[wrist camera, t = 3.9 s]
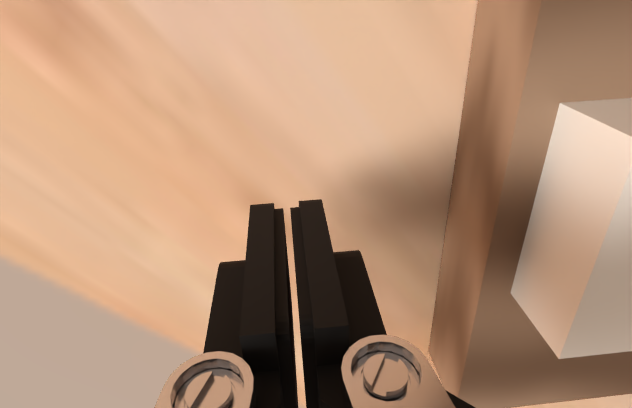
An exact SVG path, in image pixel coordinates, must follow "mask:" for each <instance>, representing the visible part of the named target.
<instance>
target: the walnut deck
mask: <svg viewBox="0 0 632 408" xmlns="http://www.w3.org/2000/svg"><path fill="white" fill-rule="evenodd" d="M623 98H632V0H478V4H477V12H476V19H475V26H474V33H473V40H472V47H471V54H470V61H469V68H468V75H467V82H466V90H465V97H464V104H463V111H462V118H461V125H460V132H459V139H458V146H457V153H456V160H455V168H454V175H453V182H452V189H451V196H450V203H449V210H448V217H447V224H446V231H445V238H444V246H443V253H442V260H441V267H440V274H439V281H438V288H437V295H436V302H435V309H434V316H433V324H432V331H431V338H430V345H429V353H430V356H431V358H432V361H433V363H434V365H435V368H436V370H437V373H438V375H439V378H440V380H441V383H442V385H443V387H444V389H445V390H446V391H448V392H450V393H451V394H453V395H455V396H456V397H458V398H460V399H462V400H463V401H465V402H467V403H468V404H470V405H472V406H474V407H475V408H512V407H520V406H529V405H537V404H546V403H555V402H563V401H572V400H580V399H589V398H597V397H606V396H615V395H623V394H632V351H628V352H619V353H610V354H601V355H592V356H582V357H573V358H564V359H558V357H557V356H556V355H555V353H554V352H553V350H552V349H551V348H550V346H549V345H548V344H547V342H546V341H545V340H544V338H543V337H542V335H541V334H540V333H539V331H538V330H537V329H536V327H535V326H534V325H533V323H532V322H531V320H530V319H529V318H528V316H527V315H526V314H525V312H524V311H523V310H522V308H521V307H520V305H519V304H518V303H517V301H516V300H515V299H514V297H513V296H512V295H511V289H512V285H513V281H514V278H515V274H516V270H517V266H518V262H519V258H520V255H521V251H522V247H523V243H524V239H525V235H526V231H527V228H528V224H529V220H530V216H531V212H532V208H533V204H534V201H535V197H536V193H537V189H538V185H539V181H540V177H541V174H542V170H543V166H544V162H545V158H546V154H547V150H548V147H549V143H550V139H551V135H552V131H553V127H554V123H555V120H556V116H557V112H558V108H559V104H560V103H565V102H580V101H594V100H608V99H623Z"/></svg>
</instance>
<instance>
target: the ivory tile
mask: <svg viewBox="0 0 632 408" xmlns="http://www.w3.org/2000/svg"><path fill="white" fill-rule="evenodd" d="M511 295H512V296H513V297H514V299H515V300H516V301H517V303H518V304H519V305H520V307H521V308H522V310H523V311H524V312H525V314H526V315H527V316H528V318H529V319H530V320H531V322H532V323H533V325H534V326H535V327H536V329H537V330H538V331H539V333H540V334H541V335H542V337H543V338H544V340H545V341H546V342H547V344H548V345H549V346H550V348H551V349H552V350H553V352H554V353H555V355H556V356H557V357H558V359H564V358H573V357H582V356H592V355H601V354H610V353H619V352H628V351H632V98H623V99H608V100H594V101H580V102H565V103H560V104H559V108H558V112H557V116H556V120H555V123H554V127H553V131H552V135H551V139H550V143H549V147H548V150H547V154H546V158H545V162H544V166H543V170H542V174H541V177H540V181H539V185H538V189H537V193H536V197H535V201H534V204H533V208H532V212H531V216H530V220H529V224H528V228H527V231H526V235H525V239H524V243H523V247H522V251H521V255H520V258H519V262H518V266H517V270H516V274H515V278H514V281H513V285H512V289H511Z"/></svg>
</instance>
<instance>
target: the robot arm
mask: <svg viewBox="0 0 632 408" xmlns="http://www.w3.org/2000/svg"><path fill="white" fill-rule="evenodd" d="M290 209H291V222H292V234H293V246H294V259H295V271H296V284H297V296H298V308H299V321H300V333H301V345H302V358H303V370H304V382H305V395H306V407H307V408H475V407H474V406H472V405H470V404H468V403H467V402H465V401H463V400H462V399H460V398H458V397H456V396H455V395H453V394H451V393H450V392H448V391H446V390H445V389H444V387H443V386H442V384H441V382H440V380H439V379H438V377H437V375H436V374H435V372H434V370H433V369H432V367H431V365H430V363H429V362H428V360H427V359H426V357H425V356H424V355H423V354H422V352H421V351H420V350H419V349H418V348H417V347H415V346H414V345H412V344H411V343H410V342H408V341H406V340H403V339H401V338H398V337H396V336H389V335H387V334H386V331H385V328H384V325H383V321H382V318H381V315H380V312H379V309H378V306H377V302H376V299H375V296H374V293H373V290H372V286H371V283H370V280H369V277H368V274H367V271H366V267H365V264H364V261H363V258H362V255H361V252H360V251H359V250H356V251H345V252H333V249H332V245H331V240H330V235H329V231H328V226H327V222H326V217H325V213H324V208H323V203H322V200H321V199H320V200H308V201H299V207H295V208H290ZM154 408H298V396H297V380H296V364H295V348H294V332H293V316H292V301H291V289H290V278H289V267H288V256H287V245H286V234H285V223H284V213H283V209H274V203H270V204H258V205H250V215H249V227H248V238H247V250H246V260H243V261H231V262H221V263H220V264H219V267H218V272H217V278H216V284H215V290H214V295H213V301H212V307H211V313H210V318H209V324H208V330H207V335H206V341H205V347H204V353H203V354H201V355H198V356H195V357H192V358H191V359H189V360H188V361H186V362H184V363H183V364H181V365H180V366H179V367H178V368H177V369H176V370H175V371H174V372H173V373H172V374H171V375H170V376H169V378H168V380H167V381H166V383H165V385H164V387H163V389H162V391H161V393H160V396H159V398H158V401H157V403H156V405H155V407H154Z"/></svg>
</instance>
